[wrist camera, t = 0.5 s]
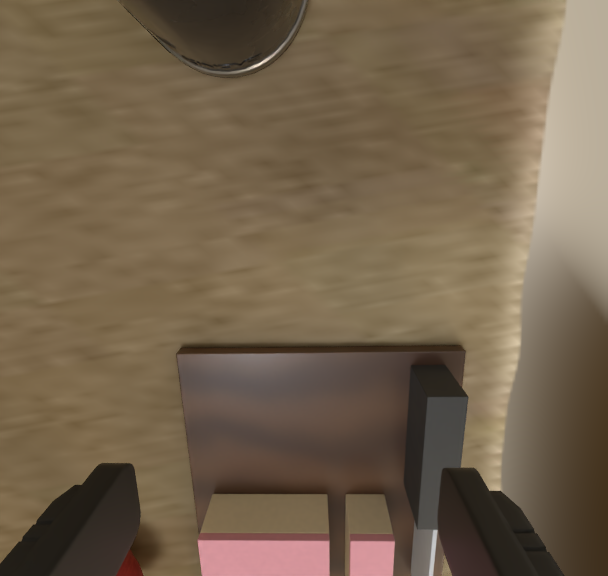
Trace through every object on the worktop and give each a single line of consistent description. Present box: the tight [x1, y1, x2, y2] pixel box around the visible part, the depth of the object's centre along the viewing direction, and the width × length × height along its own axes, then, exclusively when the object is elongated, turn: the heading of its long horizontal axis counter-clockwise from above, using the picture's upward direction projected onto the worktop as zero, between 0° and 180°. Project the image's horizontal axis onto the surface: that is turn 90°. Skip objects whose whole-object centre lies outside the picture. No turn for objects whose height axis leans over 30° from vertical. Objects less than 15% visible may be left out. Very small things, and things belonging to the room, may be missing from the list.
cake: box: [198, 494, 330, 576], centre depth 28 cm, size 8×9×4 cm
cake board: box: [176, 345, 466, 576], centre depth 30 cm, size 25×20×1 cm
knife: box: [404, 365, 468, 576], centre depth 27 cm, size 19×2×4 cm, turn 1°
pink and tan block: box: [345, 494, 395, 576], centre depth 28 cm, size 8×3×4 cm, turn 1°
